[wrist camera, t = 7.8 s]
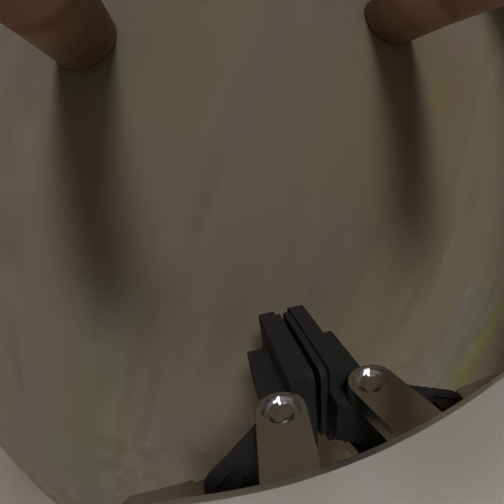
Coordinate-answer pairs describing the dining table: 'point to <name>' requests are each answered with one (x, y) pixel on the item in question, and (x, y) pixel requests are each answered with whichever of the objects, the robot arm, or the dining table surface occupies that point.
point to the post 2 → (420, 16)
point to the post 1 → (63, 29)
